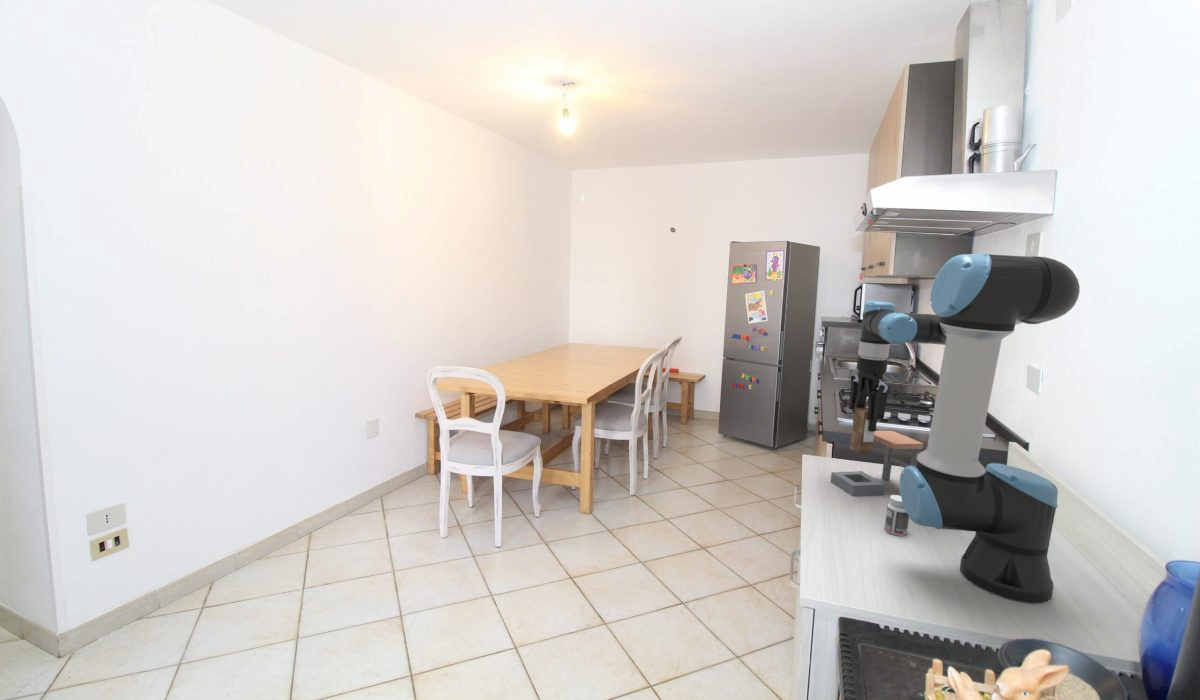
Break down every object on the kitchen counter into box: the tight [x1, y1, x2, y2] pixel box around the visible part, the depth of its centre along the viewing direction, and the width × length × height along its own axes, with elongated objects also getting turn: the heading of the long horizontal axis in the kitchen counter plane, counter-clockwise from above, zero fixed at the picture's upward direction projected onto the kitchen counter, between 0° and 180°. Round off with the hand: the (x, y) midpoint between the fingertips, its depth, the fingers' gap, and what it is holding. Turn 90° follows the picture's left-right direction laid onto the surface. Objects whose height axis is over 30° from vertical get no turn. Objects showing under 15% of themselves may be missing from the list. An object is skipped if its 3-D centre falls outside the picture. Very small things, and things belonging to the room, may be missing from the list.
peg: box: [849, 407, 875, 454], centre depth 154 cm, size 4×4×12 cm
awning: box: [873, 430, 924, 482], centre depth 157 cm, size 12×9×15 cm
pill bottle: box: [884, 494, 910, 537], centre depth 130 cm, size 5×5×8 cm
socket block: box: [830, 470, 886, 497], centre depth 156 cm, size 10×10×3 cm
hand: (862, 438), depth 155 cm, fingers closed on peg, 4 cm apart
